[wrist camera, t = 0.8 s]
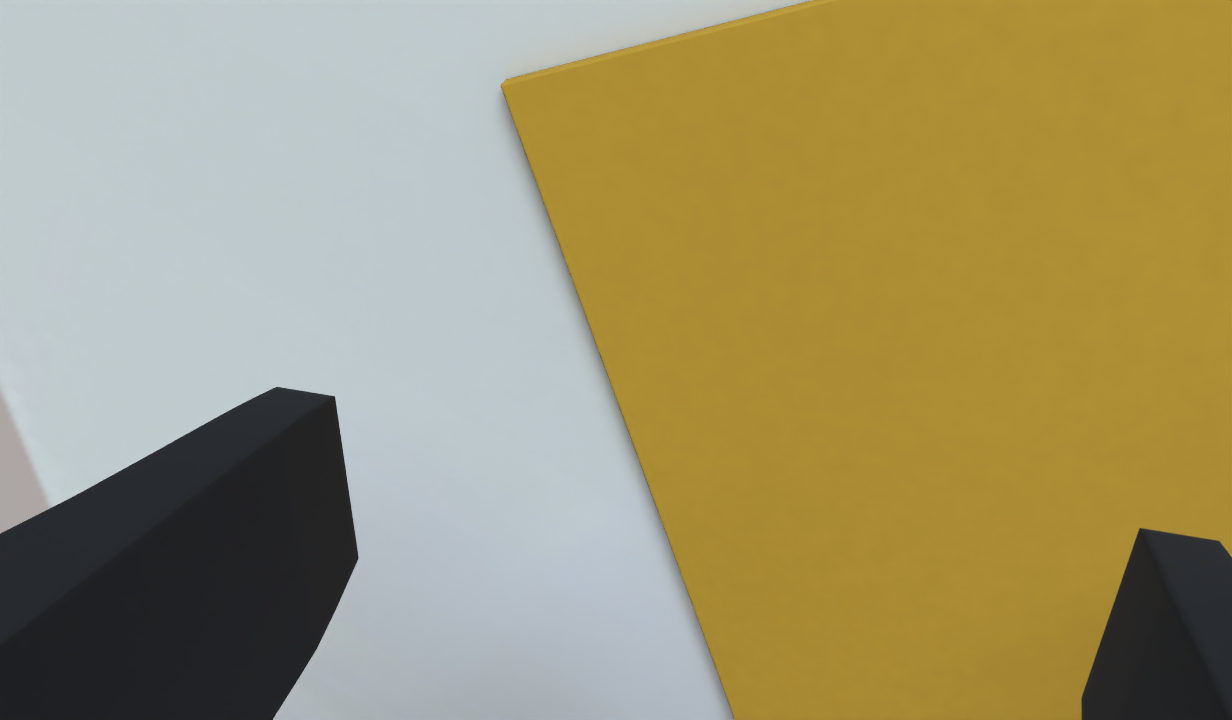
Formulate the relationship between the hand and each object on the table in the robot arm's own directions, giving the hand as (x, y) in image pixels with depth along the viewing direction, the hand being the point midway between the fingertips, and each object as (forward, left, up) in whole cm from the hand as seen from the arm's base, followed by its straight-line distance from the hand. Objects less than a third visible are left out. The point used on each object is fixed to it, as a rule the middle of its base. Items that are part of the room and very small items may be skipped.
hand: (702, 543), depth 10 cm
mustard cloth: (-6, -1, -10) cm, 11 cm away
